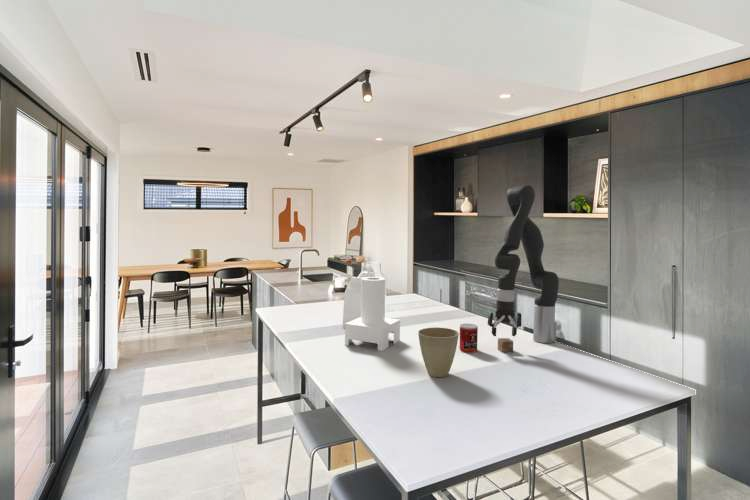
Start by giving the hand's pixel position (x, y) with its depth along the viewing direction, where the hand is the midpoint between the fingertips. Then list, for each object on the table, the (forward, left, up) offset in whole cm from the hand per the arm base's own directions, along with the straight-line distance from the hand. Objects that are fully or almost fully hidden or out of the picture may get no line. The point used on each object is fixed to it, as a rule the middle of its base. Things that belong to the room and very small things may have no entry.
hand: (503, 335), depth 195 cm
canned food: (+15, -2, -7) cm, 17 cm away
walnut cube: (-1, 0, -7) cm, 7 cm away
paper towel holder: (+56, -16, -7) cm, 59 cm away
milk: (+62, -48, -7) cm, 79 cm away
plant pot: (+35, +26, -7) cm, 45 cm away
